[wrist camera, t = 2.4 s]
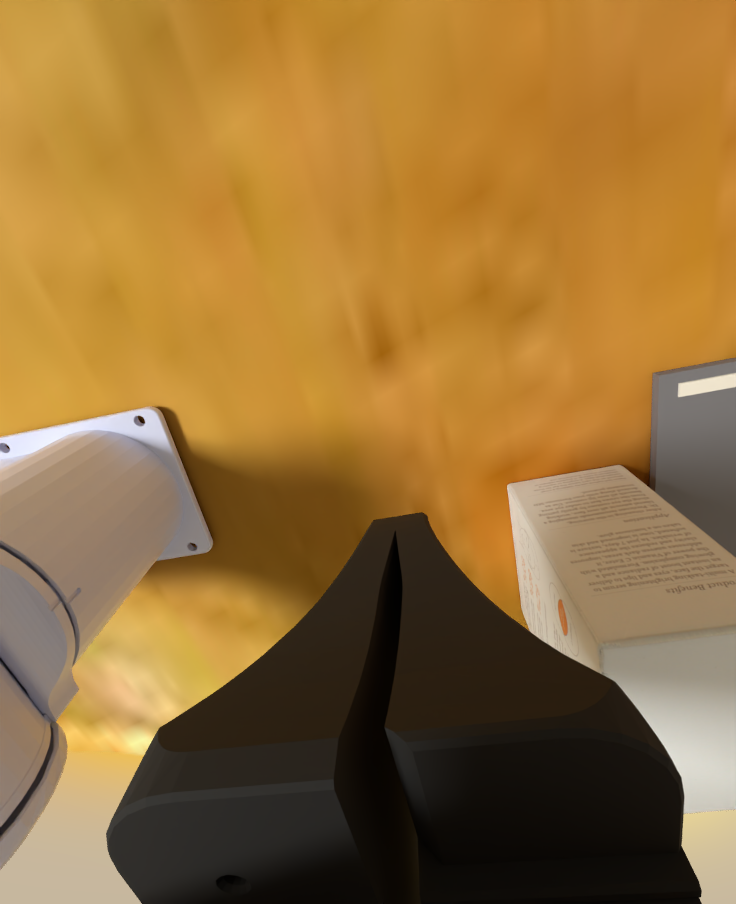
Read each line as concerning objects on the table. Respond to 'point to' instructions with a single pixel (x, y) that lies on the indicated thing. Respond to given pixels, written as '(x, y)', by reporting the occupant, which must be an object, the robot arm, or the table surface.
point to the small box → (637, 611)
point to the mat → (697, 445)
